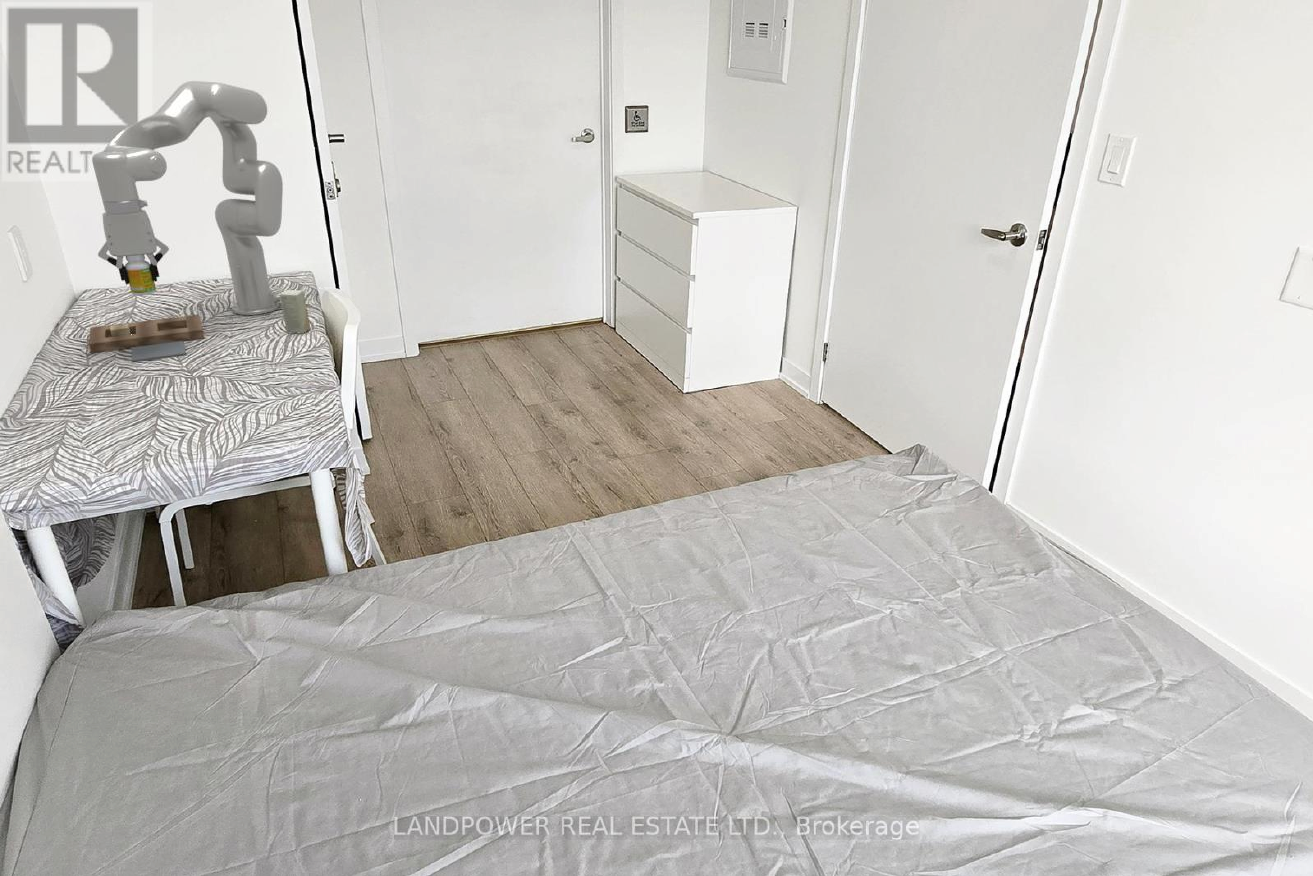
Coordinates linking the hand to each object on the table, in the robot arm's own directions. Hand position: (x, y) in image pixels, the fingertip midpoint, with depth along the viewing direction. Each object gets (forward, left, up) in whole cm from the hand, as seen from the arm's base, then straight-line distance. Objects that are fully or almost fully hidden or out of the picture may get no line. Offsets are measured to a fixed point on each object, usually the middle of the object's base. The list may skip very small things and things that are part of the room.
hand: (141, 280), depth 210 cm
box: (-34, -2, -19) cm, 39 cm away
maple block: (+8, -13, -19) cm, 24 cm away
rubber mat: (0, 0, -19) cm, 19 cm away
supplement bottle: (0, 0, -3) cm, 3 cm away
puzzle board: (+2, -13, -19) cm, 23 cm away
